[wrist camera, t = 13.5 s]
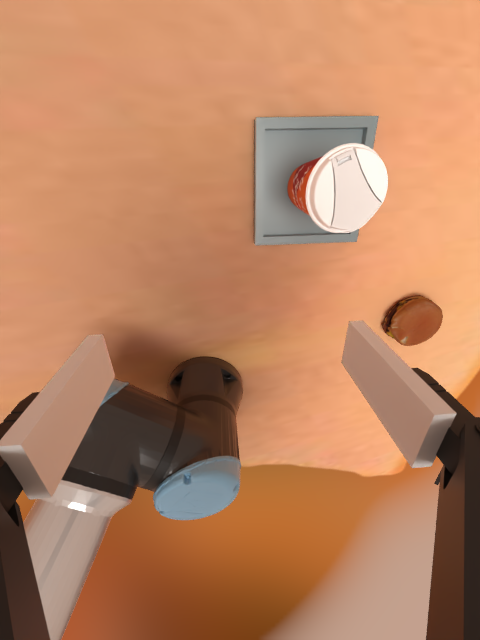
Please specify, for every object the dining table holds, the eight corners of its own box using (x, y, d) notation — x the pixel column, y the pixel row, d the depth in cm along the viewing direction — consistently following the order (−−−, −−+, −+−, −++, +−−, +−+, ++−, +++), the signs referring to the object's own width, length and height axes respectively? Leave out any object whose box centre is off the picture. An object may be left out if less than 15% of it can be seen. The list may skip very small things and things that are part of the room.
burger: (441, 300, 51) (460, 311, 47) (413, 341, 55) (428, 354, 51) (397, 287, 49) (413, 297, 45) (371, 330, 53) (384, 343, 49)
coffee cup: (271, 170, 38) (298, 166, 25) (327, 142, 37) (386, 123, 24) (290, 226, 42) (322, 249, 29) (341, 203, 41) (399, 216, 28)
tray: (253, 242, 44) (255, 245, 42) (254, 120, 36) (256, 117, 34) (351, 239, 44) (356, 241, 43) (371, 118, 37) (378, 115, 35)
